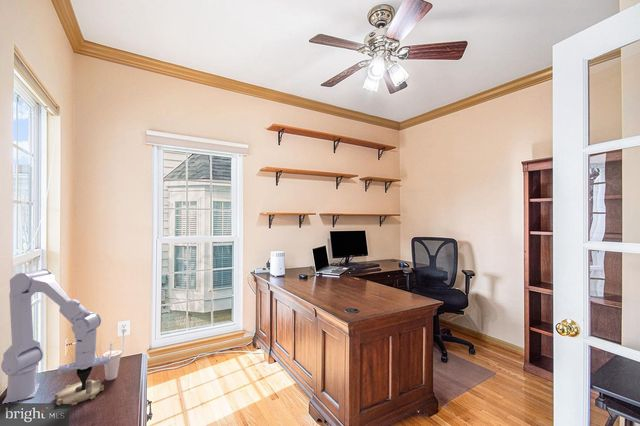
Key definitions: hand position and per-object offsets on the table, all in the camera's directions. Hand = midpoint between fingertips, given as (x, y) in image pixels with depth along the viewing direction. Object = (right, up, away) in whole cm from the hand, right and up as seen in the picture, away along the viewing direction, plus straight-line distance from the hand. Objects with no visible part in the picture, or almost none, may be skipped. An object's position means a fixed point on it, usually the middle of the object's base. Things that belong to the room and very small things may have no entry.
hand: (83, 388), depth 106 cm
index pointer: (-8, -3, +10) cm, 13 cm away
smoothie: (0, -4, +14) cm, 14 cm away
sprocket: (-3, -3, +2) cm, 5 cm away
